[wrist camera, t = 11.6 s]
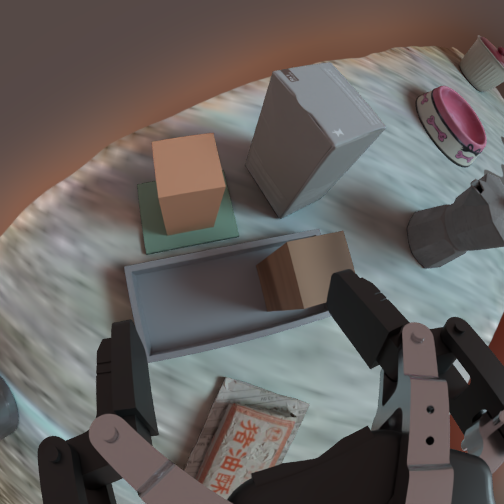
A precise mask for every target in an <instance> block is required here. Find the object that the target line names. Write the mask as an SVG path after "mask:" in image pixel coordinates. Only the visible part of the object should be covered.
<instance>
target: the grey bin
mask: <svg viewBox="0 0 504 504" xmlns="http://www.w3.org/2000/svg"><path fill="white" fill-rule="evenodd" d="M319 235H321V233H320V230H319V229H315V230H310V231H304V232H299V233H294V234H288V235H283V236H278V237H272V238H267V239H262V240H257V241H251V242H246V243H241V244H236V245H231V246H225V247H220V248H215V249H210V250H205V251H200V252H195V253H190V254H185V255H180V256H175V257H170V258H165V259H160V260H155V261H150V262H145V263H140V264H135V265H130V266H125V267H124V269H125V275H126V281H127V287H128V292H129V298H130V303H131V308H132V313H133V317H134V322H135V326H136V330H137V332H138V335H139V337H140V339H141V341H142V343H143V346H144V349H145V352H146V356H147V362H148V363H150V362H155V361H161V360H166V359H171V358H176V357H181V356H186V355H190V354H195V353H200V352H204V351H208V350H213V349H217V348H221V347H225V346H229V345H233V344H237V343H241V342H245V341H249V340H253V339H256V338H260V337H264V336H267V335H271V334H274V333H278V332H281V331H285V330H288V329H292V328H295V327H298V326H301V325H305V324H308V323H311V322H314V321H317V320H320V319H324V318H327V317H330V316H331V315H330V313H329V311H328V308H327V302H326V303H322V304H319V305H316V306H312V307H309V308H306V309H297V310H285V311H271V312H267V308H266V304H265V300H264V296H263V292H262V288H261V284H260V280H259V276H258V272H257V268H256V265H257V264H259V263H260V262H261V261H263V260H264V259H265V258H266V257H268V256H269V255H270V254H272V253H273V252H274V251H276V250H277V249H278V248H280V247H281V246H282V245H283V244H285V243H286V242H289V241H294V240H299V239H304V238H309V237H314V236H319Z"/></svg>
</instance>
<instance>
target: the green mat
mask: <svg viewBox="0 0 504 504" xmlns="http://www.w3.org/2000/svg"><path fill="white" fill-rule="evenodd" d="M222 173H223V177H224V181H225V186H226V188H225V191H224V194H223V197H222V201H221V204H220V207H219V211H218V214H217V218H216V221H215V224H214V227H211V228H206V229H200V230H195V231H189V232H184V233H179V234H174V235H169V236H167V232H166V228H165V224H164V220H163V216H162V211H161V207H160V203H159V198H158V191H157V184H156V181H153V182H147V183H142V184H137V188H138V197H139V206H140V214H141V222H142V229H143V236H144V242H145V249H146V254H147V255H148V254H153V253H158V252H163V251H168V250H173V249H178V248H183V247H188V246H193V245H199V244H204V243H209V242H214V241H219V240H225V239H230V238H235V237H239V233H238V229H237V225H236V220H235V216H234V212H233V208H232V204H231V199H230V195H229V191H228V187H227V183H226V178H225V174H224V170H222Z"/></svg>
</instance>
